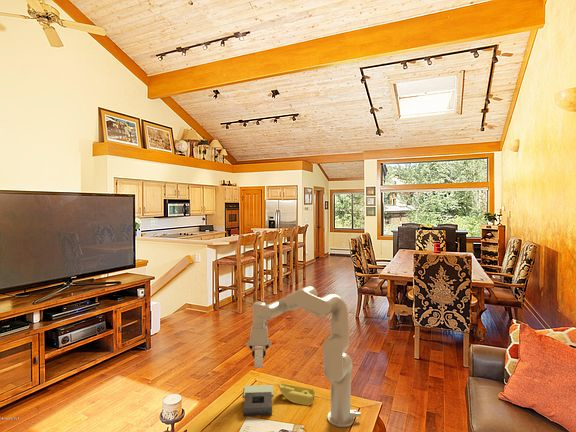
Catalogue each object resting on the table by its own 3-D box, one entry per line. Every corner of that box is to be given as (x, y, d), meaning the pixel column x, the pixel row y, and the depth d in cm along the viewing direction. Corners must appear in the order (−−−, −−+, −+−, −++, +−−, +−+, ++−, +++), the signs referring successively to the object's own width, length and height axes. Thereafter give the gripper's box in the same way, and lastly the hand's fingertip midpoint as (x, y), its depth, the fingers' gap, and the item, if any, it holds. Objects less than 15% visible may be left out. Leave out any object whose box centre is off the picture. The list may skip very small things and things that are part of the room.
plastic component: (315, 389, 182) (314, 390, 173) (313, 405, 179) (312, 406, 170) (280, 383, 186) (277, 383, 177) (278, 397, 183) (275, 398, 174)
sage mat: (272, 386, 189) (272, 384, 189) (273, 396, 179) (273, 394, 179) (244, 387, 188) (244, 385, 188) (243, 397, 178) (243, 395, 178)
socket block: (271, 399, 176) (271, 391, 176) (272, 415, 162) (272, 407, 162) (245, 400, 175) (245, 392, 175) (243, 416, 161) (243, 408, 161)
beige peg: (262, 363, 186) (263, 346, 186) (262, 367, 181) (263, 349, 181) (254, 363, 186) (255, 346, 186) (254, 367, 181) (254, 349, 181)
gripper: (274, 322, 188) (273, 354, 188) (244, 322, 187) (244, 354, 187) (274, 326, 180) (274, 359, 180) (243, 327, 179) (243, 360, 179)
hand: (258, 356), depth 183 cm, fingers closed on beige peg, 4 cm apart
